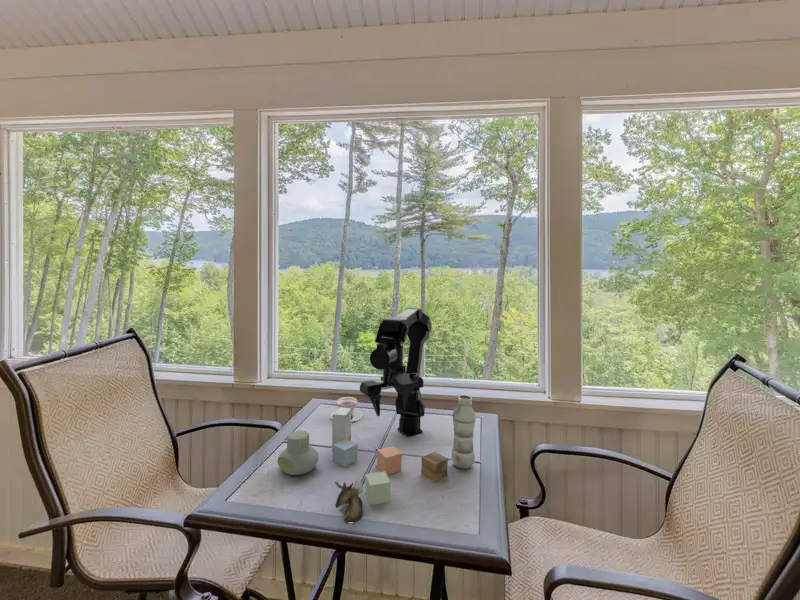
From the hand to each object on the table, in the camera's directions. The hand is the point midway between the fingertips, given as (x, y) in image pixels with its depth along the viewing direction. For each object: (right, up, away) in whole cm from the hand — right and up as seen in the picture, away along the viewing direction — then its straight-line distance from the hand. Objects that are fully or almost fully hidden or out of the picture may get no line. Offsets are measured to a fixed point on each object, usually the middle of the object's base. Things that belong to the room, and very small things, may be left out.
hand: (391, 413), depth 113 cm
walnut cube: (+12, -14, -9) cm, 21 cm away
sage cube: (-3, -15, -19) cm, 25 cm away
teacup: (-18, -10, +29) cm, 36 cm away
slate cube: (-14, -13, -2) cm, 19 cm away
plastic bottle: (+20, -14, -4) cm, 25 cm away
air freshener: (-26, -14, -7) cm, 30 cm away
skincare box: (-15, -13, +5) cm, 21 cm away
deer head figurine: (-10, -16, -24) cm, 30 cm away
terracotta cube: (-1, -14, -6) cm, 15 cm away
